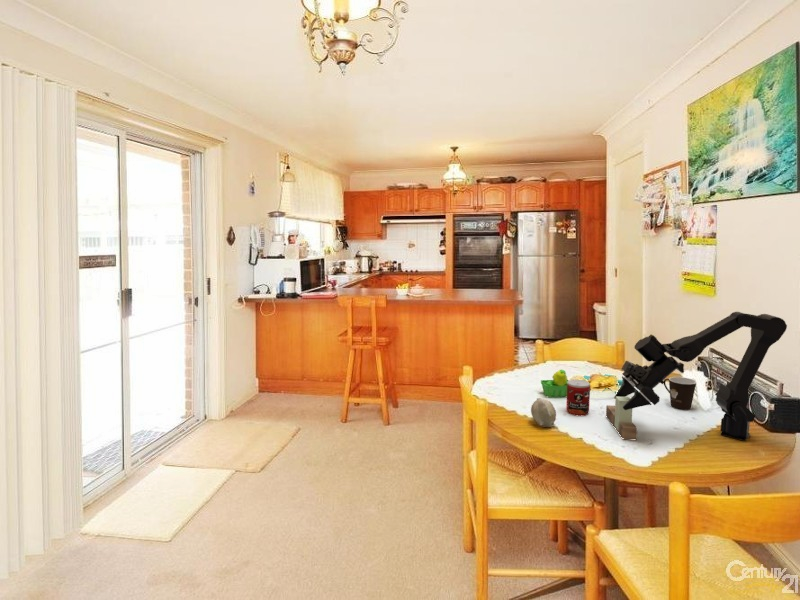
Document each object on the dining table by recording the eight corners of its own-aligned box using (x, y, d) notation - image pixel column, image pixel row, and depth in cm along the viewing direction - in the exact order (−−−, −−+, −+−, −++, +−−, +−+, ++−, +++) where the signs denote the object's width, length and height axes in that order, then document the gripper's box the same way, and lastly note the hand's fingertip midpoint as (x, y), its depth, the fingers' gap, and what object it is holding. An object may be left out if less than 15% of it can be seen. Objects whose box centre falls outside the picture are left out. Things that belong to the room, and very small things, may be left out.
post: (627, 426, 156) (628, 396, 154) (631, 431, 152) (632, 401, 150) (614, 425, 156) (615, 396, 155) (618, 430, 152) (619, 400, 151)
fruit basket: (567, 391, 193) (567, 364, 191) (576, 398, 184) (577, 370, 183) (539, 392, 192) (540, 365, 191) (547, 399, 184) (548, 371, 182)
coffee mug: (698, 411, 169) (700, 384, 167) (672, 410, 170) (674, 383, 169) (684, 400, 180) (686, 374, 179) (660, 399, 182) (661, 374, 180)
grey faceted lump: (548, 436, 157) (551, 413, 152) (524, 426, 161) (526, 403, 157) (559, 419, 163) (562, 397, 158) (536, 410, 168) (538, 388, 163)
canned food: (566, 415, 168) (567, 385, 167) (566, 407, 176) (567, 378, 174) (589, 417, 166) (590, 386, 164) (588, 409, 173) (589, 380, 172)
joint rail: (606, 416, 166) (606, 405, 166) (618, 416, 166) (618, 405, 165) (622, 439, 148) (623, 427, 147) (636, 440, 147) (637, 427, 146)
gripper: (630, 346, 159) (594, 377, 162) (650, 361, 141) (609, 395, 144) (653, 369, 159) (617, 400, 162) (677, 387, 141) (636, 421, 144)
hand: (619, 403), depth 153 cm, fingers open, 9 cm apart
